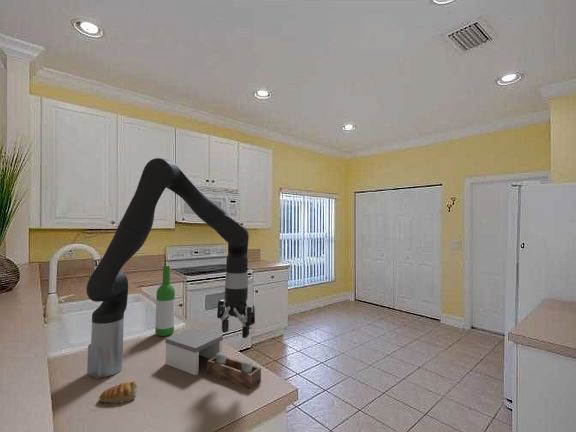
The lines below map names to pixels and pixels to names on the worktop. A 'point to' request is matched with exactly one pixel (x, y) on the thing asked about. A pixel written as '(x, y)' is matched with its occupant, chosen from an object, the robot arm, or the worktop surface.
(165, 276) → the wine bottle
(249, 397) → the worktop surface
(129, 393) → the pastry
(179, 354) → the counter bay
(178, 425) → the worktop surface
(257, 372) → the caddy
